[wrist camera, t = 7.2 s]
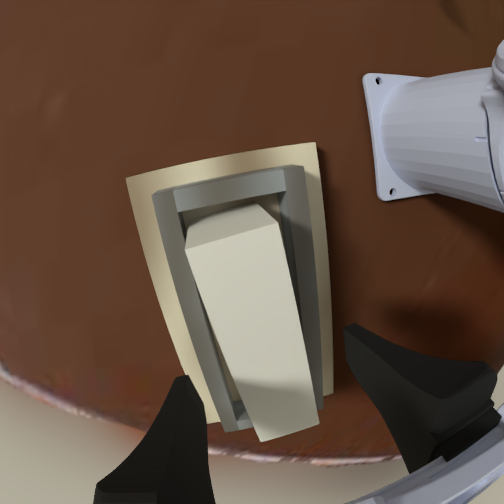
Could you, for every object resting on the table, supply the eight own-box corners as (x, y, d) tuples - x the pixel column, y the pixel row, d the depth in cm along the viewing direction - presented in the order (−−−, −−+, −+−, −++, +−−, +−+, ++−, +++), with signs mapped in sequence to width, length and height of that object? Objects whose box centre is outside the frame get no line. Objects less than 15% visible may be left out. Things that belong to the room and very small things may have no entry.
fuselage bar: (254, 201, 16) (278, 222, 11) (296, 371, 20) (319, 423, 15) (189, 220, 16) (184, 250, 11) (247, 386, 20) (260, 442, 15)
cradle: (309, 142, 16) (330, 141, 13) (328, 385, 22) (342, 410, 19) (130, 176, 15) (115, 182, 12) (205, 414, 21) (207, 443, 18)
